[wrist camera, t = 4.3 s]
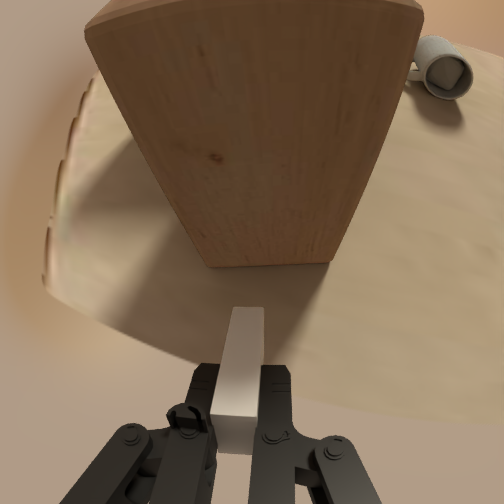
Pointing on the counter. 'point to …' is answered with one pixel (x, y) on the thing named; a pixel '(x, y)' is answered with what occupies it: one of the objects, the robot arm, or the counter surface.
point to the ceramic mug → (441, 68)
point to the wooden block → (258, 112)
